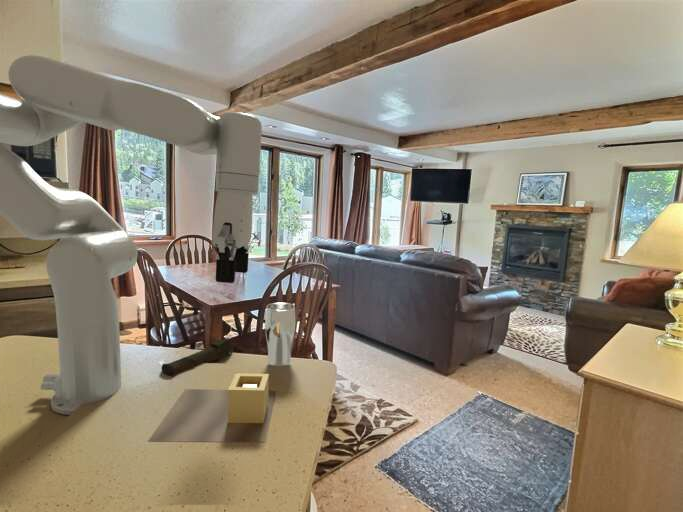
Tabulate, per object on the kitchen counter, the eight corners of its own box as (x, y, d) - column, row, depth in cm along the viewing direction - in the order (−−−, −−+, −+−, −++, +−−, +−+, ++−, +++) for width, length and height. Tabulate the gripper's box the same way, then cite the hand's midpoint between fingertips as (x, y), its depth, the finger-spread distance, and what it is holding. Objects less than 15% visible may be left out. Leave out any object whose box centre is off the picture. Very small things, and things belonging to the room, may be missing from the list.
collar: (227, 422, 62) (227, 389, 62) (235, 403, 68) (235, 373, 67) (263, 423, 63) (264, 390, 62) (268, 404, 69) (268, 374, 68)
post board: (147, 450, 57) (146, 411, 56) (185, 396, 73) (184, 365, 72) (264, 450, 58) (265, 412, 57) (276, 397, 74) (277, 367, 73)
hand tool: (171, 385, 77) (171, 364, 77) (160, 379, 79) (160, 359, 79) (240, 356, 93) (240, 338, 93) (229, 352, 95) (229, 335, 95)
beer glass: (267, 375, 83) (269, 311, 81) (261, 362, 89) (262, 303, 87) (297, 371, 86) (299, 309, 84) (289, 359, 92) (291, 301, 90)
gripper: (230, 185, 75) (226, 267, 78) (199, 180, 58) (195, 285, 61) (266, 189, 76) (261, 270, 78) (246, 184, 58) (241, 289, 61)
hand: (232, 276), depth 69 cm, fingers open, 9 cm apart
